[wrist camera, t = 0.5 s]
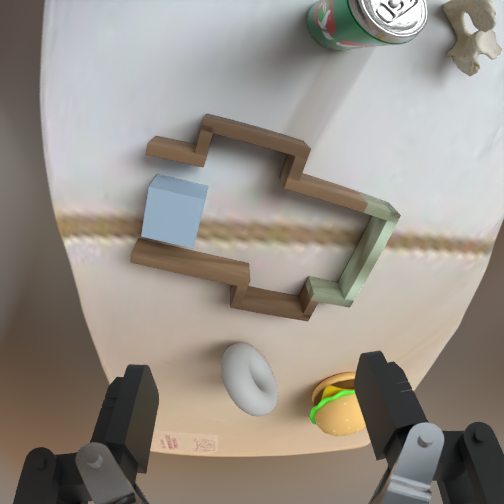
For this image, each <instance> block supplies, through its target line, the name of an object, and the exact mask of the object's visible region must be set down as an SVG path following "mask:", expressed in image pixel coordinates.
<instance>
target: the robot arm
mask: <svg viewBox="0 0 504 504" xmlns="http://www.w3.org/2000/svg"><path fill="white" fill-rule="evenodd" d="M354 390H355V395H356V397H357V400H358V403H359V406H360V409H361V412H362V415H363V418H364V422H365V425H366V428H367V431H368V434H369V437H370V440H371V443H372V446H373V449H374V453H375V456H376V459H377V460H380V459H384V458H386V460H387V463H388V465H387V467H386V469H385V471H384V473H383V475H382V478H381V480H380V482H379V484H378V486H377V488H376V490H375V492H374V494H373V496H372V498H371V499H370V501H369V503H368V504H429V502H430V499H431V491H429V489H430V485H431V482H432V481H434V480H437V483H438V487H439V490H440V494H441V497H442V501H443V504H504V454H503V452H502V449H501V447H500V445H499V442H498V440H497V438H496V436H495V434H494V432H493V430H492V428H491V427H490V426H489V425H487V424H485V423H482V422H475V423H472V424H470V425H469V426H468V427H467V428H466V429H465V431H441V430H440V428H438V427H437V426H436V425H434V424H431V423H429V422H428V420H427V419H426V417H425V414H424V412H423V410H422V408H421V406H420V404H419V402H418V400H417V397H416V395H415V393H414V391H412V387H411V385H410V383H409V382H408V379H407V377H406V375H405V373H404V371H403V370H402V369H401V368H400V367H399V366H398V365H397V364H396V363H395V362H389V363H387V361H386V359H385V357H384V355H383V353H382V352H381V351H374V352H368V353H362V354H361V355H360V359H359V363H358V367H357V370H356V374H355V378H354ZM158 405H159V394H158V389H157V387H156V384H155V381H154V379H153V376H152V373H151V370H150V368H149V366H148V365H132V364H129V365H128V366H127V368H126V371H125V374H124V377H116V378H115V380H114V381H113V382H112V383H111V384H110V385H109V387H108V390H107V393H106V395H105V399H104V401H103V404H102V408H101V411H100V414H99V417H98V420H97V423H96V426H95V429H94V432H93V436H92V439H91V441H90V443H88V444H85V445H84V446H83V447H81V448H80V449H79V450H78V452H76V453H70V454H60V455H54V454H53V453H52V452H51V451H50V450H49V449H47V448H43V447H39V448H35V449H33V450H32V451H30V452H29V454H28V455H27V456H26V459H25V462H24V466H23V469H22V472H21V476H20V479H19V483H18V487H17V490H16V495H15V498H14V502H13V504H88V501H93V502H94V503H95V504H150V503H149V501H148V500H147V498H146V497H145V495H144V494H143V492H142V491H141V489H140V488H139V486H138V485H137V483H136V475H137V473H144V474H146V472H147V465H148V459H149V453H150V448H151V442H152V436H153V431H154V426H155V420H156V415H157V410H158Z"/></svg>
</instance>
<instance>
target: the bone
mask: <svg viewBox="0 0 504 504" xmlns="http://www.w3.org/2000/svg"><path fill="white" fill-rule="evenodd" d="M443 10H444V12H445V14H446V15H447V17H448V19H449V21H450V22H451V25H452V27H453V28H454V30H455V32H456V35H457V41H456V44H455V46H454V47H453V48H452V49H451V50H450V51H449V52H447V56H454V57H453V61H454V62H455V63H456V65H457V66H458V68H459V69H460V70H461V71H462V72H464V73H465V74H467V75H468V76H472V75H473V74H475V73H477V71H478V69H480V66H479V64H478V62H477V59H476V57H477V56H478V55H479V54H485V55H487V56H488V57H489V58H490V59H495V58H496V56H498V55H500V53H501V51H502V48H501V47H500V46H499V45H498V44H497V41H496V35H495V32H494V31H493V30H492V29H493V28H494V26H495V24H496V18H495V15H496V13H495V10H494V8H493V6H492V1H491V0H451V1H449V2H447V3H445V4H444V5H443ZM465 12H466V13H468V14H469V16H470V18H471V20H472V22H473V25H474V26H475V27H476V28H477V29H479V30H478V31H477V32H475V33H474V34H472V35H471V34H470V33H469V32H468V30H467V29H466V26H465V23H464V13H465Z"/></svg>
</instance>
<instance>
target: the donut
mask: <svg viewBox="0 0 504 504" xmlns="http://www.w3.org/2000/svg"><path fill="white" fill-rule="evenodd" d="M221 374H222V379H223V382H224V385H225V388H226V390H227V392H228V394H229V396H230V397H231V399H232V400H233V401H234V403H235V404H236V405H237V406H238V407H239V408H240V409H241V410H243V411H244V412H246V413H248V414H250V415H253V416H263V415H267V414H269V413H270V412H271V411H272V410H273V409H274V408H275V406H276V404H277V400H278V387H277V382H276V379H275V376H274V373H273V371H272V369H271V367H270V365H269V363H268V362H267V361H266V359H265V358H264V356H263V355H262V354H261V353H260V352H259V351H258V350H257V349H256V348H254V347H253V346H251V345H249V344H245V343H236V344H233V345H231V346H229V347H228V348H227V349H226V351H225V353H224V354H223V356H222V361H221Z"/></svg>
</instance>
